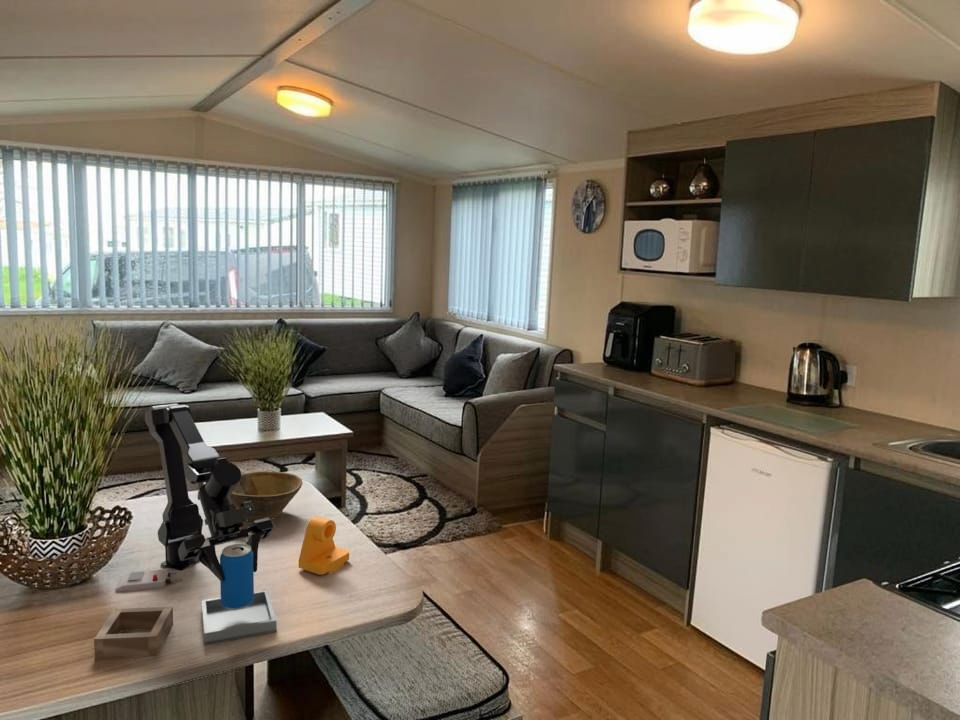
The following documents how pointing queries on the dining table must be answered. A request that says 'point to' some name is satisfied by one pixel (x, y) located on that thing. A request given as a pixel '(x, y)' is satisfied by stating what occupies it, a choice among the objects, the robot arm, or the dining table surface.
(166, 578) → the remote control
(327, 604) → the dining table surface
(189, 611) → the dining table surface
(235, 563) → the beverage can
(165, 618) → the socket block
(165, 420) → the robot arm
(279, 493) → the bowl
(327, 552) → the bracket
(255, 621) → the tray
